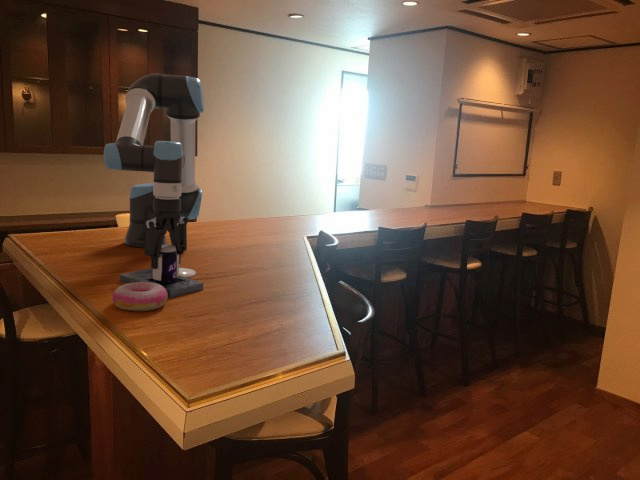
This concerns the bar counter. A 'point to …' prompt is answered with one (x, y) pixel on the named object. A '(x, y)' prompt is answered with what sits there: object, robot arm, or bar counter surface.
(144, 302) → the donut
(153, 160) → the robot arm
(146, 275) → the grey board with hole
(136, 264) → the bar counter surface
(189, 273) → the coaster
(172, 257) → the beverage can
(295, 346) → the bar counter surface
